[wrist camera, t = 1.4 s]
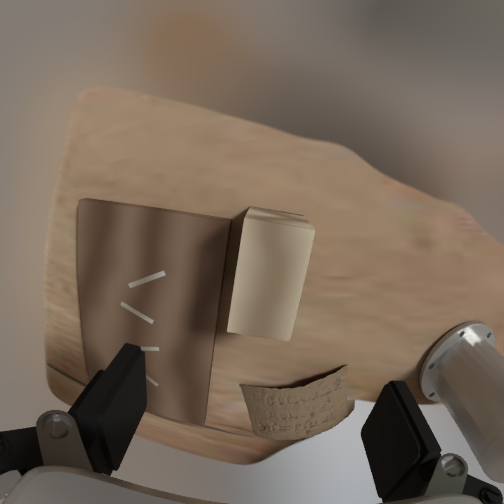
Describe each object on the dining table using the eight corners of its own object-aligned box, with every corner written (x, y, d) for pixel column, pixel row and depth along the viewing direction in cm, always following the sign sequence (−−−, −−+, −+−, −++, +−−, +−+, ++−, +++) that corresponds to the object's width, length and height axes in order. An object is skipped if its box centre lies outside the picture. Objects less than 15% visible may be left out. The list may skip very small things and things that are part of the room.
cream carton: (303, 215, 28) (315, 230, 21) (284, 302, 31) (289, 341, 23) (250, 206, 28) (244, 217, 21) (236, 294, 31) (226, 331, 23)
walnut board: (231, 219, 29) (229, 221, 27) (205, 417, 35) (203, 425, 34) (86, 198, 29) (78, 199, 27) (96, 387, 35) (92, 393, 34)
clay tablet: (350, 358, 33) (355, 371, 30) (354, 414, 35) (358, 428, 32) (230, 380, 34) (227, 395, 32) (250, 432, 37) (248, 447, 34)
